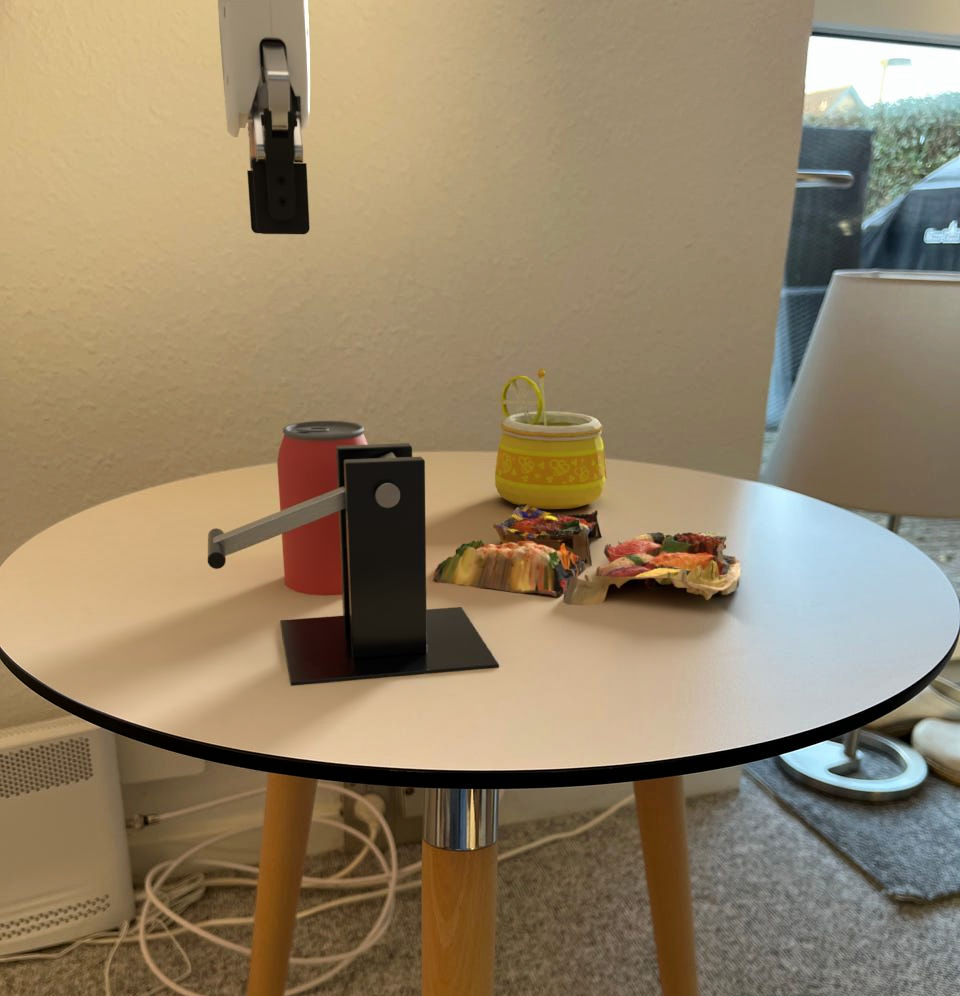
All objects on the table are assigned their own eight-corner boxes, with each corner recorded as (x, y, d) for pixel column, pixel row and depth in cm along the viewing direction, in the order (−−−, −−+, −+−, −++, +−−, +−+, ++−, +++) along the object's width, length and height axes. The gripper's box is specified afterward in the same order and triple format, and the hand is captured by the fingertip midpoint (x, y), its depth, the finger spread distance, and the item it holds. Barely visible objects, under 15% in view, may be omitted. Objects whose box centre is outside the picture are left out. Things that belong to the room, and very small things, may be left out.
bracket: (291, 701, 57) (277, 476, 52) (281, 637, 66) (267, 439, 61) (499, 682, 60) (503, 466, 55) (461, 623, 69) (462, 432, 64)
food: (756, 562, 82) (761, 519, 81) (722, 642, 66) (727, 590, 64) (500, 532, 89) (501, 492, 88) (412, 598, 73) (411, 550, 72)
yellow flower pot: (618, 513, 96) (627, 383, 91) (504, 516, 94) (507, 384, 90) (585, 482, 108) (591, 366, 103) (483, 485, 106) (484, 367, 102)
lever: (217, 583, 56) (198, 544, 55) (217, 557, 60) (200, 520, 59) (417, 503, 57) (402, 464, 56) (402, 483, 61) (388, 447, 60)
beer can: (293, 578, 77) (283, 418, 73) (380, 579, 77) (376, 419, 73) (277, 608, 71) (266, 435, 66) (372, 608, 71) (367, 436, 66)
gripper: (197, -44, 68) (219, 232, 74) (193, -125, 52) (221, 233, 59) (311, -36, 69) (323, 233, 76) (339, -113, 54) (351, 235, 60)
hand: (278, 233), depth 67 cm, fingers open, 9 cm apart
